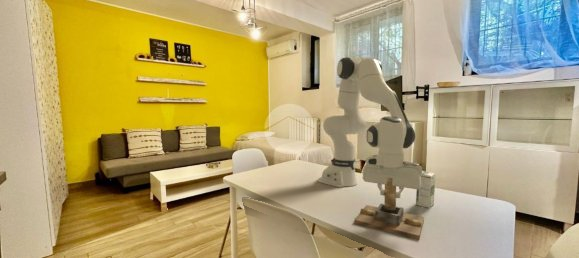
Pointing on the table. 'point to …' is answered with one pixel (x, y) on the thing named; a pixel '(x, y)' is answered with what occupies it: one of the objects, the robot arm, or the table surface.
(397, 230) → the wooden socket board
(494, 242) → the table surface
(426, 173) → the syrup box
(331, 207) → the table surface
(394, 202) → the pin
